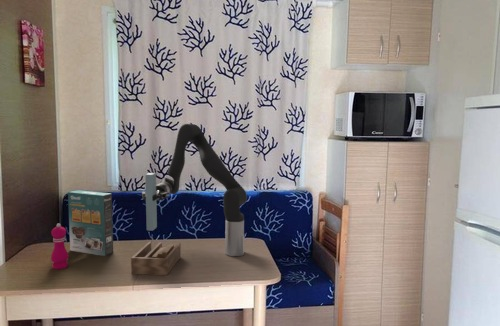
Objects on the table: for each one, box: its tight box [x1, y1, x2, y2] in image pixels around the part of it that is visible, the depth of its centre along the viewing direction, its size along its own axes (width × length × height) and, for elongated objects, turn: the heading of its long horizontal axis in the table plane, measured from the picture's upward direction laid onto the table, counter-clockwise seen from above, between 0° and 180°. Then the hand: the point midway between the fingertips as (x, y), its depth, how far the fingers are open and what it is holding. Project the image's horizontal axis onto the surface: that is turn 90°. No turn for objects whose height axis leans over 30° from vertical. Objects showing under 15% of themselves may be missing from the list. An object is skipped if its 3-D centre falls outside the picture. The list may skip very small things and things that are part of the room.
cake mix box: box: [67, 189, 114, 257], centre depth 203 cm, size 22×6×30 cm, turn 69°
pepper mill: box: [50, 222, 69, 270], centre depth 182 cm, size 7×7×20 cm
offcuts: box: [152, 243, 175, 258], centre depth 187 cm, size 7×13×8 cm, turn 175°
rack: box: [130, 241, 182, 276], centre depth 187 cm, size 16×23×7 cm
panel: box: [144, 172, 158, 231], centre depth 189 cm, size 3×6×26 cm, turn 176°
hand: (149, 198), depth 186 cm, fingers closed on panel, 3 cm apart
